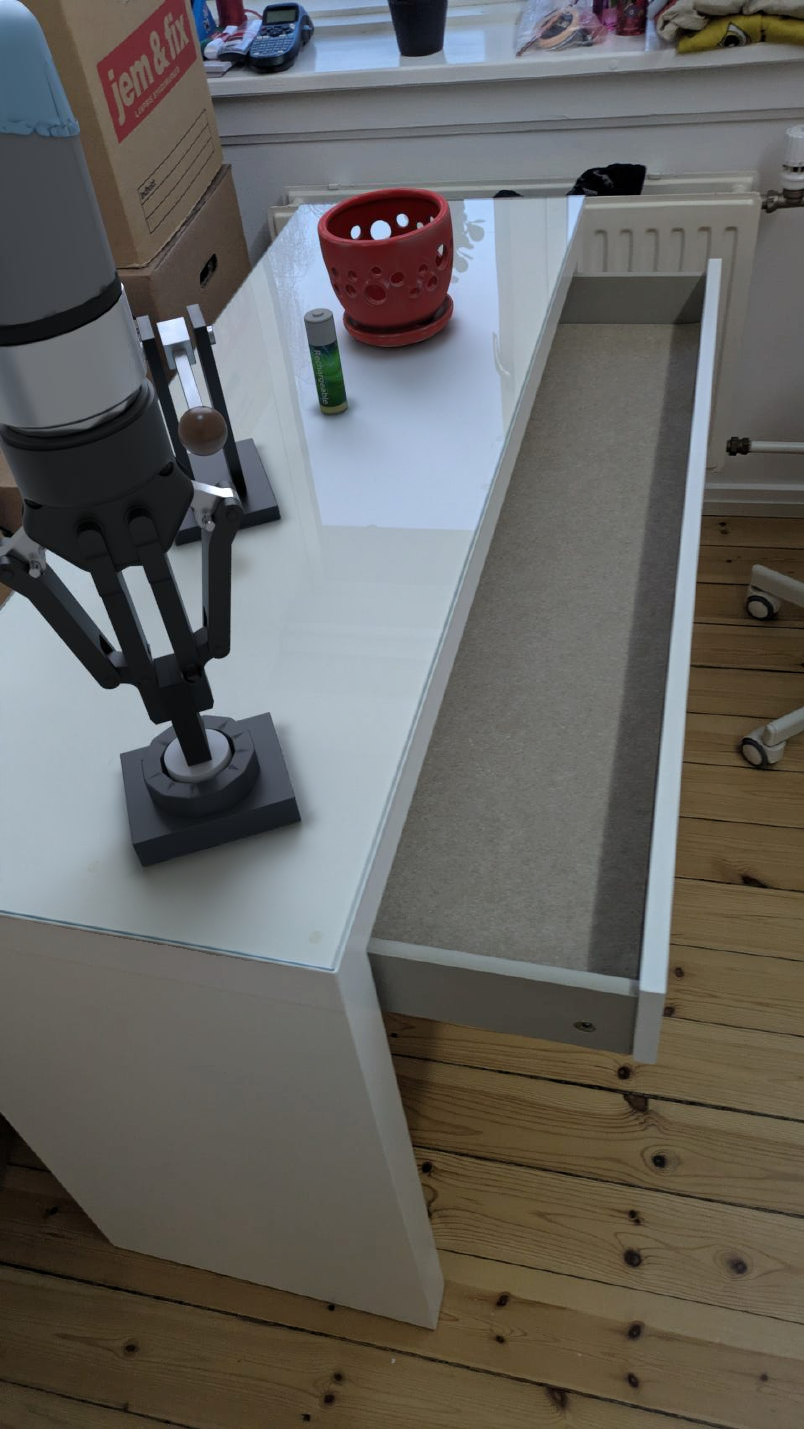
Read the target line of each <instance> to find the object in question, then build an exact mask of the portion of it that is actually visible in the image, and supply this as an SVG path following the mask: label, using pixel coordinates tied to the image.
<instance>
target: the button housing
mask: <svg viewBox="0 0 804 1429" xmlns="http://www.w3.org/2000/svg"><path fill="white" fill-rule="evenodd" d="M200 716H201V719H202V722H203V724H204V727H205V729H211V730H215V731H218V732H219V733H221V734H222V735H224V736H225V738H226V739H227V741H228V744H229V747H230V750H231V753H232V756H233V758H232V760H231V762H230V764H229V766H228V767H227V768H226V769H224V770H223V771H222V772H220V773H219V774H218V775H216V776H215V777H214V778H212V779H209V780H205V781H202V782H199V783H195V784H189V783H180V782H174V781H173V780H171V778H170V775H169V773H168V770H167V768H166V765H165V762H164V755H165V752H166V749H167V748H168V746H169V745H170V743H171V742H172V741H173V740H175V739H176V738H177V736H176V733H175V730H174V728H173V725H172V724H171V725H170V726H168V728H166V729H165V730H163V731H162V732H160V733H158V735H157V736H155V737H153V739H151V742H150V743H149V745H147V746H143V747H140V748H135V749H132V750H128V751H124V752H122V753H120V754H119V759H120V766H121V774H122V780H123V781H122V782H123V787H124V788H123V789H124V794H125V802H126V810H127V817H128V824H129V831H130V836H131V838H130V839H131V845H132V847H133V849H134V851H135V855H136V856H137V858H138V860H139V862H140V865H141V867H142V868H144V867H148V866H151V865H155V864H158V863H161V862H165V861H168V860H171V859H175V858H178V857H182V856H185V855H189V854H191V853H192V854H193V853H195V852H199V851H202V850H206V849H208V848H212V847H215V846H219V845H222V844H225V843H226V844H227V843H230V842H232V841H235V840H239V839H240V840H241V839H242V838H243V839H244V838H246V837H249V836H253V835H256V834H259V833H263V832H267V831H271V830H273V829H277V828H280V827H285V826H286V825H290V824H294V823H297V822H301V821H302V817H301V813H300V810H299V807H298V803H297V799H296V794H295V792H294V788H293V785H292V782H291V779H290V776H289V771H288V768H287V765H286V762H285V757H284V755H283V751H282V747H281V745H280V741H279V737H278V734H277V731H276V728H275V725H274V720H273V718H272V714H271V712H270V711H268V712H264V713H261V714H260V713H259V714H255V715H253V716H249V717H245V718H242V719H239V720H235V719H234V718H232V717H230V716H221V715H210V714H202V715H200Z"/></svg>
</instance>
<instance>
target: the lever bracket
mask: <svg viewBox="0 0 804 1429" xmlns="http://www.w3.org/2000/svg"><path fill="white" fill-rule="evenodd" d="M185 309H186V313H187V317H188V321H189V325H190V330H191V333H192V337H193V340H194V344H195V348H196V352H197V356H198V360H199V364H200V367H201V370H202V375H203V379H204V382H205V386H206V390H207V391H206V392H207V395H208V398H209V402H210V406H211V408H213V409H215V410H216V411H217V412H219V413H220V414H221V415H222V417H223V418H224V420H225V422H226V425H227V431H228V433H227V439H226V442H225V444H224V446H223V447H222V448H221V449H220V450H219V451H218V452H217V453H215V454H213V455H210V456H198V455H195V454H193V453H191V452H189V453H188V450H187V449H186V448H185V447H184V446H183V445H182V443H181V441H180V439H179V435H178V425H179V421H180V420H179V418H178V414H177V411H176V408H175V404H174V401H173V396H172V394H171V389H170V386H169V382H168V380H167V379H168V378H167V376H166V372H165V369H164V365H163V361H162V358H161V355H160V352H159V347H158V344H157V341H156V338H155V337H156V336H155V334H154V330H153V327H152V323H151V320H150V316H149V314H146V315H143V316H137V317H136V318H135V320H136V325H137V328H138V331H139V336H140V340H141V341H140V345H141V348H142V351H143V355H144V358H145V362H147V363H148V364H147V365H148V367H149V371H150V374H151V377H152V381H153V384H154V389H155V390H156V391H155V392H156V396H157V399H158V402H159V406H160V409H161V413H162V416H163V419H164V423H165V426H166V430H167V433H168V436H169V440H170V443H171V447H172V450H173V453H174V455H175V457H176V458H177V460H178V461H179V462H180V463H181V464H183V465H184V466H185V467H186V468H187V470H188V471H189V473H190V475H191V480H193V481H197V482H200V483H204V484H208V485H211V486H215V485H216V484H217V483H218V482H220V481H230V482H232V483H233V484H234V485H235V488H236V491H237V494H238V496H239V499H240V502H241V506H242V509H243V512H244V516H243V519H242V522H241V524H240V526H239V529H238V530H240V529H244V528H245V529H246V528H249V527H253V526H256V525H260V524H264V523H267V522H272V521H277V520H280V519H281V518H282V516H281V511H280V507H279V504H278V501H277V499H276V496H275V493H274V491H273V489H272V486H271V484H270V481H269V477H268V475H267V473H266V469H265V467H264V464H263V462H262V459H261V456H260V454H259V451H258V449H257V447H256V444H255V442H254V439H253V438H252V437H250V438H246V439H242V440H238V441H237V440H235V435H234V431H233V427H232V424H231V418H230V416H229V411H228V407H227V402H226V400H225V396H224V390H223V386H222V382H221V379H220V375H219V370H218V367H217V363H216V358H215V354H214V350H213V347H212V346H213V345H217V340H216V336H215V332H214V328H213V326H212V325H208V326H207V324H206V321H205V318H204V316H203V313H202V310H201V307H200V305H199V303H195V304H190V305H186V306H185ZM198 540H202V528H201V527H199V526H198V524H197V521H196V517H195V514H194V508H192V507H191V506H190V507H189V509H188V512H187V514H186V516H185V518H184V521H183V523H182V525H181V527H180V529H179V532H178V534H177V536H176V538H175V541H174V544H175V545H176V546H178V545H183V544H187V543H190V542H195V541H198Z"/></svg>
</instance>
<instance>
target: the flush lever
mask: <svg viewBox="0 0 804 1429" xmlns="http://www.w3.org/2000/svg"><path fill="white" fill-rule="evenodd" d="M156 329H157V331H158V336H159V339H160V343H161V347H162V349H163V353H164V357H165V361H166V364H167V367H168V370H169V371H172V370H176V373H177V376H178V379H179V382H180V386H181V389H182V393H183V395H184V399H185V402H186V406H187V409H188V410H186V411H185V412H184V413H183V414H182V416H181V417H180V419H179V420H178V421H179V425H178V435H179V439H180V441H181V443H182V445H183V446H184V447H185V448H186V449H187V452H189V453H193V454H195V455H198V456H210V455H213V454H215V453H217V452H218V451H219V450H220V449H221V448H222V447H223V446H224V444H225V442H226V439H227V433H228V431H227V425H226V422H225V420H224V418H223V417H222V415H221V414H220V413H219V412H217V411H216V410H215V409H213V408H212V406H211V407H210V406H207V405H204V403H203V401H202V398H201V394H200V391H199V388H198V384H197V381H196V378H195V375H194V371H193V369H192V368H193V367H192V366H193V365H196V364H197V360H196V355H195V351H194V347H193V343H192V339H191V336H190V333H189V329H188V326H187V323H186V320H185V318H184V316H181V317H177V318H173V319H169V320H164V321H160V322H156Z"/></svg>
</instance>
